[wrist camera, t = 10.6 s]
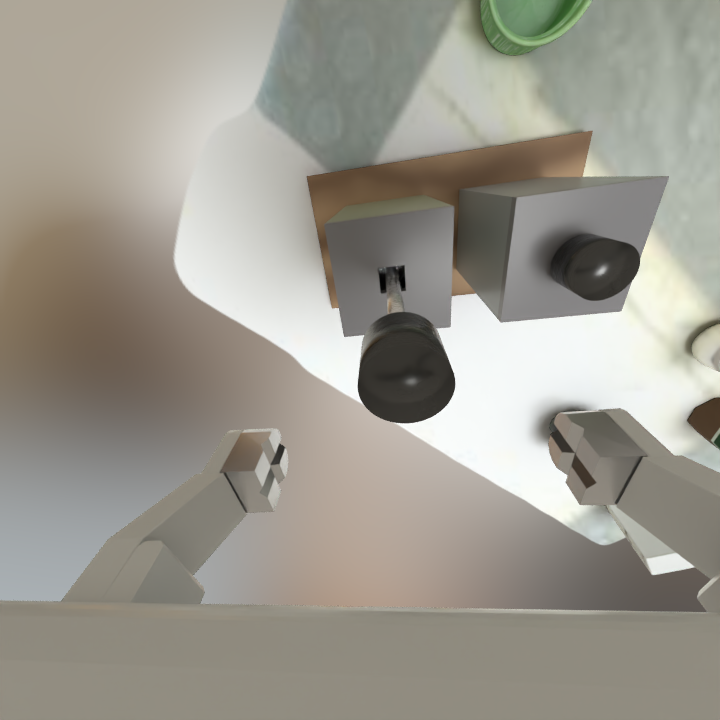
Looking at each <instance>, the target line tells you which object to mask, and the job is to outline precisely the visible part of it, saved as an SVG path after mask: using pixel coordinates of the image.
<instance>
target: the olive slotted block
mask: <svg viewBox="0 0 720 720" xmlns="http://www.w3.org/2000/svg"><path fill="white" fill-rule="evenodd" d="M324 227H325V233H326V238H327V244H328V250H329V255H330V261H331V266H332V272H333V277H334V283H335V289H336V294H337V300H338V305H339V311H340V317H341V322H342V328H343V333H344V337H348V336H359V335H365V333H366V331H367V330H368V328H369V327H370V326H371V325H372V324H373V323H374V322H375V321H376V320H378V319H379V318H381V317H383V316H385V315H387V314H388V309H387V292H386V290H380V280H379V270H378V268H385V267H393V266H402V265H404V274H405V288H401V293H402V298H403V304H404V309H405V312H411V313H415V314H418V315H421V316H423V317H425V318H426V319H427V320H429V321H430V322H431V323H432V324H433V325H434V326H435V328H446V327H450V325H451V294H452V263H453V232H454V206H452V205H450V204H447V203H444V202H442V201H439V200H436V199H434V198H431V197H429V196H426V195H417V196H410V197H404V198H397V199H390V200H383V201H376V202H369V203H362V204H355V205H348V206H345V207H344V208H343V209H342V210H341V211H339V212H338V213H337V214H336V215H335V216H333V217H332V218H331V219H330V220H329V221H327V222H326V223H325V224H324Z"/></svg>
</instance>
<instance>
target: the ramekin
mask: <svg viewBox="0 0 720 720" xmlns="http://www.w3.org/2000/svg"><path fill="white" fill-rule="evenodd" d="M592 1H593V0H481V3H480V8H481V20H482V25H483V29H484V32H485V34H486V37H487V39H488V40H489V42H490V43H491V44H492V45H493V47H494V48H496V49H497V50H498V51H500V52H502V53H504V54H508V55H521V54H524V53H527V52H530V51H532V50H534V49H536V48H538V47H540V46H542V45H545V44H548V43H550V42H552V41H554V40H556V39H557V38H559V37H560V36H562V35H563V34H564V33H566V32H567V31H568V30H569V29H570V28H571V27H572V26H573V25H574V24H575V23H576V22H577V21H578V20H579V19H580V18H581V16H582V15H583V14H584V13H585V11H586V10H587V8H588V7H589V5H590V4H591V2H592Z"/></svg>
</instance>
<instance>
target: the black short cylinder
mask: <svg viewBox="0 0 720 720" xmlns="http://www.w3.org/2000/svg"><path fill="white" fill-rule="evenodd" d="M639 266H640V255H639V253H638V251H637V249H636V248H635V247H634V246H632V245H631V244H629V243H625V242H621V241H618V240H614V239H610V238H606V237H602V236H599V235H595V234H581V235H578V236H575V237H573V238H571V239H570V240H568V241H567V242H565V243H564V244H563V245H562V246H561V247H560V248H559V249H558V250H557V252H556V253H555V255H554V257H553V259H552V262H551V267H550V271H551V276H552V278H553V279H554V281H555V282H557V283H558V284H560V285H561V286H563V287H565V288H566V289H568V290H570V291H572V292H573V293H575V294H577V295H578V296H580V297H582V298H583V299H586V300H590V301H600V300H604V299H608V298H610V297H612V296H614V295H616V294H618V293H619V292H621V291H622V290H623V289H625V288H626V287H627V286H628V285H629V284H630V283H631V281H632V280H633V279H634V277H635V276H636V274H637V272H638V269H639Z"/></svg>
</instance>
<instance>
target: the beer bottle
mask: <svg viewBox="0 0 720 720" xmlns="http://www.w3.org/2000/svg"><path fill="white" fill-rule="evenodd" d="M688 422H689V423H690V424H691V425H692V426H693V428H694V429H695V430H696V431H697V432H698V433H700V434H701V435H702V436H703V437H704V438H705V439H706V440H708V441H709V442H710V443H711V444H713V445H714V446H715V447H716V448H718V449H719V450H720V398H714V399H712V400H710V401H708V402H706V403H704V404H702V405H700V406H698V407H696V408H695V409H694V411H693V413H692V414H691V416H690V417H689V419H688Z"/></svg>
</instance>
